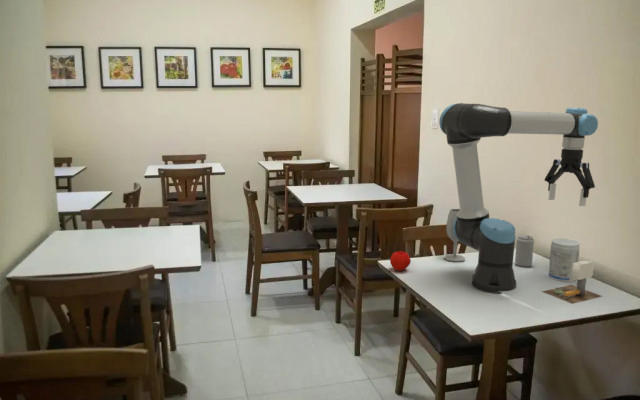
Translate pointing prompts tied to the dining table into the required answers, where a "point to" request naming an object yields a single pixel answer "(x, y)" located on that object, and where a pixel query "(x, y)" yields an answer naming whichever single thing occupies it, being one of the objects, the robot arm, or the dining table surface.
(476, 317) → the dining table surface
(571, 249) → the supplement tub
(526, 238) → the beverage can
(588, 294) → the base
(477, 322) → the dining table surface
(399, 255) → the apple
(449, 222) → the wineglass
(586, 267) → the beige block on post
